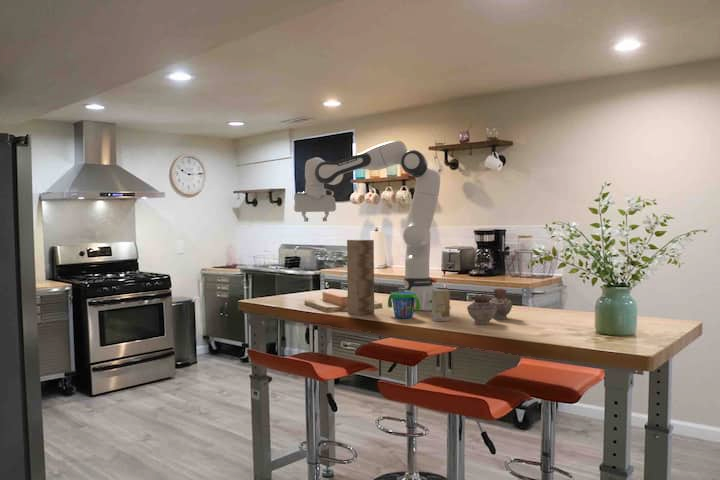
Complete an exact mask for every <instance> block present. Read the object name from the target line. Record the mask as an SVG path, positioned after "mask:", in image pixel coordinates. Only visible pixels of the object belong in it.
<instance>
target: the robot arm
mask: <svg viewBox="0 0 720 480" xmlns="http://www.w3.org/2000/svg"><path fill="white" fill-rule="evenodd" d="M396 165H399V166H401V169H402V170H403V171H404V172H405V173H406V174H407V175H409V176H411V177H413V178H415V181H416V182H415V188H414V192H413V197H412V201H411V205H410V209H409V213H408V215H407V220H406V223H405V226H404V229H403V234H402V237H403V241H404V243H405V244H406V250H405V259H404V261H405V263H404V264H405V265H404V267H405V268H404V269H405V270H404V275H405V276H404V280H403V281H404V282H403V285H404V292H415V293H416V296H417V297H418V299H419V303H420V309H419V310H418V311H428V312H429V311H432V290H439V289H438V288H437V287H435V286H434V285H433V283H437V282H438V279H437V278H435V277H433V278H431V277H430V252H431V227H432V222H433V219H434V216H435V212H436V207H437V203H438V199H439V193H440V188H441V175H440V174H439V173H438V171H435V170H434V169H431V168H429V167H428V161H427V158H426V156H425V155H424V154H423V153H422V152H420V151H418V150H417V149H416V150H415V149H411V150H408V148H407V146H406V145H405V143H404V142H403V141H401V140H398V139H397V140H391V141H387V142H383V143H380V144H378V145H374V146H372V147H370V148H368V149H366V150H364V151H362V152H360V153H358V154H355V155H352V156H349V157H346V158H344V159H343V158H342V159H340V160H336V161H329V160H328V161H327V160H324V159H322V158H321V157H313V158H309V159H308V160H306V162H305V166H304V179H305V185H304V188H305V189H304V190H305V191H303V192H299V191H298V192H297V191H296V193H294V195H293V200H294V206H293V207H294V208H293V209H294V212H296V213H301V216H302V217H303V221H304V222H305V223H306V222H309V217H307V215H306V214H307V213H312V212H313V213H321V212H323V213H324V214H325V215H324V217H322V222H327V221H328V217H329V214H330V212H331V213H332V212H335V211H336V210H337V203H336V198H335V197H334V194H335V193H334V191H333V190H330V189H327V188H326V187H325V186H324V185H325V184H328V185H332V186H335V185H338V184H340V183H341V182H342V181H343V178H344V174H346V173H351V172H354V171H357V170H365V171H367V170H368V171H379V170H384V169H387V168H389V167H393V166H396ZM415 307H416V302H415V303H414V311H416V310H415Z"/></svg>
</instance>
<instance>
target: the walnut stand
mask: <svg viewBox="0 0 720 480" xmlns="http://www.w3.org/2000/svg"><path fill="white" fill-rule="evenodd" d="M374 243H375V242H374V239H347V240H346V250H347V251H346V255H347V256H346V260H347V263H346V264H347V266H346V268H347V270H346V271H347V272H346V273H347V275H346V276H347V281H346V282H347V283H346V284H347V285H346V286H347V296H348V310H347V313H348V314H352V315H355V316H366V315H367V316H368V315H375V308H374V301H375V252H374V251H375V249H374V248H375V247H374V246H375V244H374Z"/></svg>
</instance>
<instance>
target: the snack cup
mask: <svg viewBox="0 0 720 480" xmlns="http://www.w3.org/2000/svg"><path fill="white" fill-rule="evenodd" d="M415 302H416V307H415V310H414V303H415ZM387 307H388V308H389V309H391V308H392V307H393V308H392V309H393V314H394V317H395V318H398V319H411V318H412V317H413V316H414V311H416V312H418V311H420V310H419V309H420V303H419V299H418V297H417V296H416V293H415V292H405V291H394V292H390V294H389V296H388V300H387Z"/></svg>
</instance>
